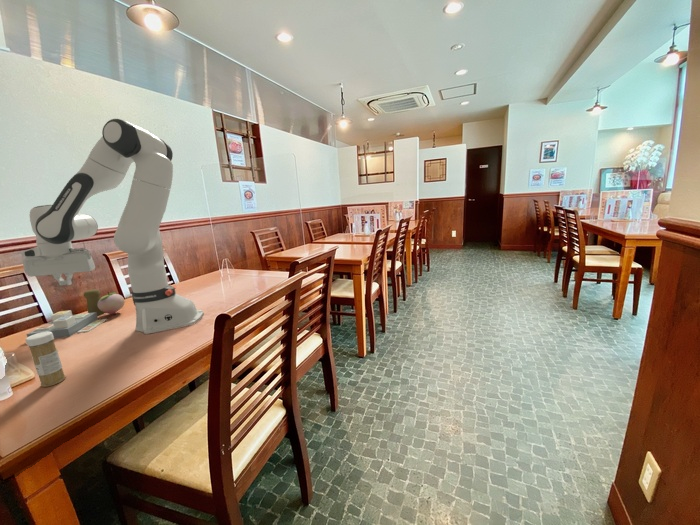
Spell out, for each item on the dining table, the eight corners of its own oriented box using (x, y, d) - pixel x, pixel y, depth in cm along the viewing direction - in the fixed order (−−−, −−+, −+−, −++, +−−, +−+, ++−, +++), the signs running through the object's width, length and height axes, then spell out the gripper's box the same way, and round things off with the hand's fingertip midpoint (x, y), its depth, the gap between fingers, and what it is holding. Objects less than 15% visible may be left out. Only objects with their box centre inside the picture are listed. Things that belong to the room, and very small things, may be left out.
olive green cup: (95, 317, 116) (88, 292, 114) (84, 316, 117) (77, 292, 115) (110, 311, 122) (104, 287, 120) (99, 311, 123) (93, 287, 121)
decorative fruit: (121, 316, 115) (115, 293, 113) (97, 319, 113) (91, 296, 111) (130, 308, 124) (125, 287, 122) (109, 311, 122) (103, 290, 120)
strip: (106, 319, 113) (106, 318, 112) (88, 331, 102) (88, 330, 102) (96, 321, 112) (95, 319, 112) (77, 333, 101) (76, 331, 101)
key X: (76, 324, 104) (73, 315, 103) (68, 328, 100) (65, 319, 99) (63, 326, 103) (61, 316, 102) (55, 330, 99) (52, 321, 98)
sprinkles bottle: (40, 383, 72) (24, 336, 69) (65, 374, 75) (51, 329, 72) (41, 390, 69) (25, 341, 66) (67, 380, 72) (52, 333, 69)
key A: (73, 318, 110) (70, 309, 109) (66, 322, 106) (63, 313, 105) (61, 319, 109) (58, 311, 108) (53, 324, 105) (50, 314, 105)
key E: (91, 321, 112) (89, 312, 111) (85, 325, 108) (82, 316, 107) (80, 322, 111) (77, 314, 110) (73, 326, 107) (70, 317, 106)
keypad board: (98, 318, 114) (96, 312, 113) (70, 336, 99) (67, 328, 98) (63, 323, 111) (61, 316, 111) (29, 342, 96) (26, 334, 95)
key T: (59, 331, 103) (56, 322, 102) (51, 336, 99) (48, 327, 98) (46, 333, 102) (43, 324, 101) (37, 338, 98) (34, 329, 97)
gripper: (94, 246, 108) (102, 279, 111) (30, 250, 104) (41, 285, 107) (83, 248, 102) (92, 284, 105) (15, 253, 98) (26, 290, 101)
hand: (66, 284), depth 106 cm, fingers closed
